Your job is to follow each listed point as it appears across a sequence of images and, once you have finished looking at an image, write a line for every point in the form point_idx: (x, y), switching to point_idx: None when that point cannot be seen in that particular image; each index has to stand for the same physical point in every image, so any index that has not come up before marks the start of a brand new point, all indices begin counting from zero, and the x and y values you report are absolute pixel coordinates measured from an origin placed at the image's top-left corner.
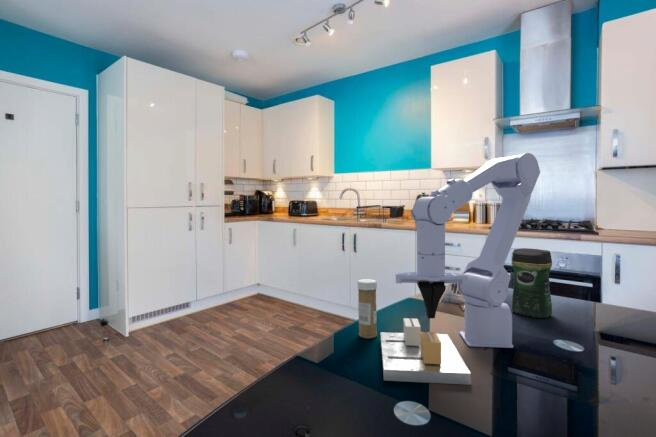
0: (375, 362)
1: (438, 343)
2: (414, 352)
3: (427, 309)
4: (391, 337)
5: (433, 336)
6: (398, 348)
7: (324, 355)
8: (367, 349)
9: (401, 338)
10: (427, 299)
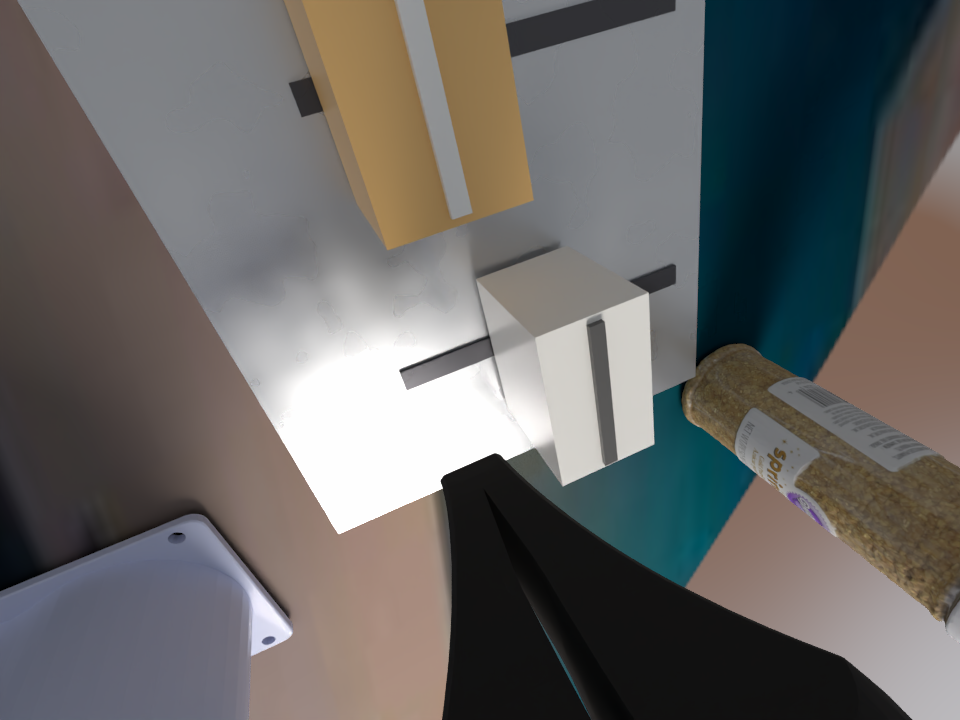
0: None
1: None
2: None
3: (546, 498)
4: None
5: (395, 113)
6: (606, 187)
7: (924, 55)
8: (725, 224)
9: None
10: (619, 588)
